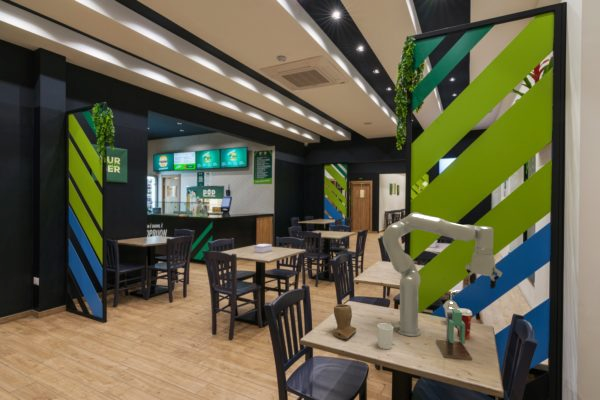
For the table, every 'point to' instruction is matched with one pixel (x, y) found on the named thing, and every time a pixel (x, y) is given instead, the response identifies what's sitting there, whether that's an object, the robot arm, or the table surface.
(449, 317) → the hook stand
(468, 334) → the paper cup
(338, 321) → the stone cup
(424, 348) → the table surface
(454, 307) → the soap dispenser
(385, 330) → the white cup
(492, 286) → the robot arm
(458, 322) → the green link
